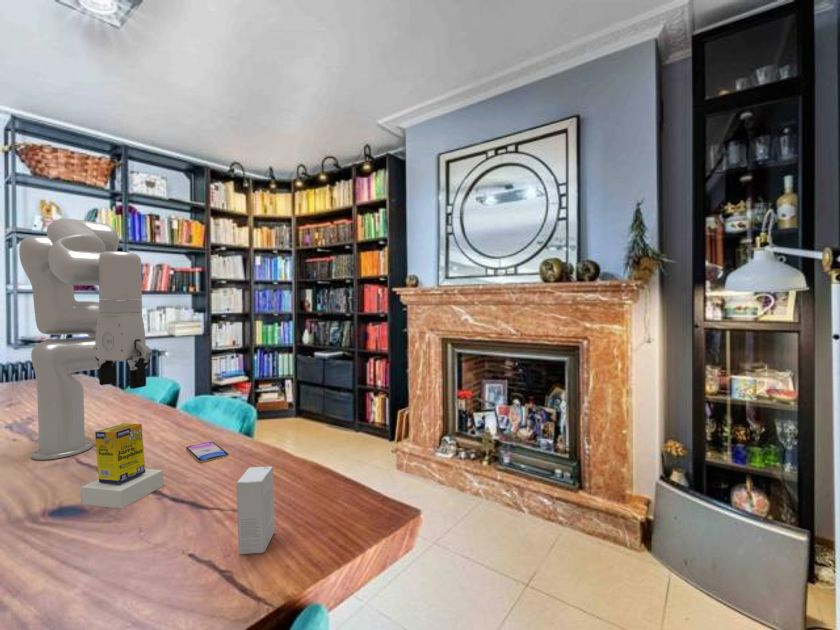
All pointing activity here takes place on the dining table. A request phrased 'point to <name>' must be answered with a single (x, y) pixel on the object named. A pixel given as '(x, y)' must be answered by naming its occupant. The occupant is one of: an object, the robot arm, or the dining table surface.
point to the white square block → (121, 490)
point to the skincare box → (255, 510)
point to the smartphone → (206, 452)
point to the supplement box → (120, 453)
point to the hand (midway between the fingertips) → (122, 385)
